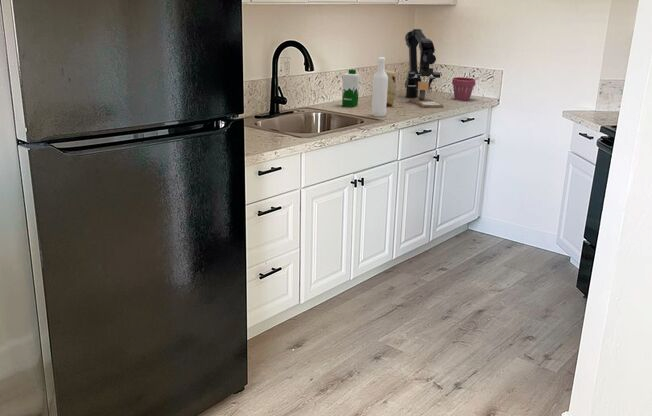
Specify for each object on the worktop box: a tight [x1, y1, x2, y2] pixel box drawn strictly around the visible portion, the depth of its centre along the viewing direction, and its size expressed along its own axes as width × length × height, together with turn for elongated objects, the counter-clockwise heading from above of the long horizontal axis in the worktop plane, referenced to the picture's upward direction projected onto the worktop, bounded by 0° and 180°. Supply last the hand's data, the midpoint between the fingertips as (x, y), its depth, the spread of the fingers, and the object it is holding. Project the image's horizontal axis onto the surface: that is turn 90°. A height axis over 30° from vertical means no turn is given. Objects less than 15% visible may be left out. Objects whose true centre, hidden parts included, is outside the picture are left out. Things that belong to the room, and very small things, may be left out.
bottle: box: [370, 56, 388, 118], centre depth 328 cm, size 8×8×30 cm
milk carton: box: [341, 69, 360, 108], centre depth 354 cm, size 9×9×20 cm
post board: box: [408, 90, 444, 109], centre depth 368 cm, size 24×12×8 cm, turn 14°
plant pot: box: [451, 76, 477, 101], centre depth 388 cm, size 14×14×13 cm
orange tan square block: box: [418, 81, 430, 91], centre depth 372 cm, size 6×6×4 cm
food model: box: [384, 70, 397, 107], centre depth 359 cm, size 10×7×20 cm
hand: (422, 89), depth 372 cm, fingers closed on orange tan square block, 6 cm apart
